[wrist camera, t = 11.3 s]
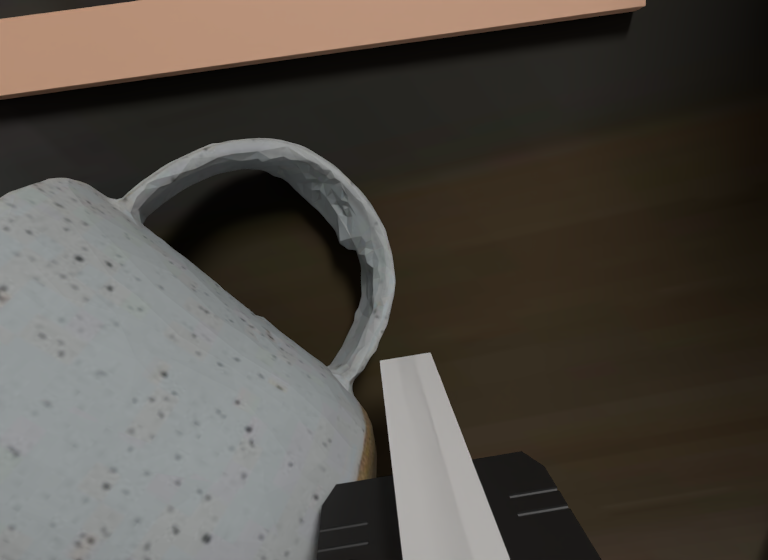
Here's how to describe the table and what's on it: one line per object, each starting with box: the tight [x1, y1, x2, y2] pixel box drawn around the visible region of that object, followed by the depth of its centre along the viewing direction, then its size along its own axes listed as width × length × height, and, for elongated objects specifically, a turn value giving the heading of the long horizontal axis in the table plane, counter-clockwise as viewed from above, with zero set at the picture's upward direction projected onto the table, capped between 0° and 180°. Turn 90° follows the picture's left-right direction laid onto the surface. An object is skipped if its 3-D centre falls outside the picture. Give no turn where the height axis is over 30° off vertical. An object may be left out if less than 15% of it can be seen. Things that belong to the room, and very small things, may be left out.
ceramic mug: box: [0, 138, 395, 560], centre depth 10 cm, size 11×8×8 cm
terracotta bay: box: [0, 0, 646, 100], centre depth 14 cm, size 18×19×1 cm
